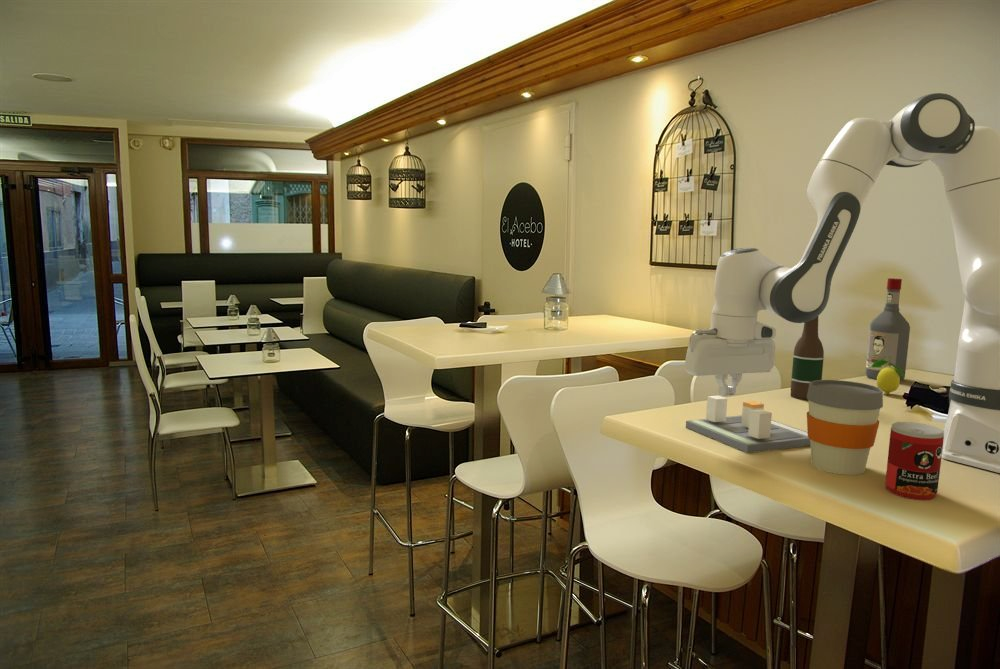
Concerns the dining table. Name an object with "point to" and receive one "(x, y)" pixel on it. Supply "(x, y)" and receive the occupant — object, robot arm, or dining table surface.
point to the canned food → (914, 460)
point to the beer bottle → (807, 360)
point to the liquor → (888, 334)
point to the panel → (739, 438)
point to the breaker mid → (746, 411)
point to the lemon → (888, 376)
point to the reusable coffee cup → (842, 424)
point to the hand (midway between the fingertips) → (726, 394)
